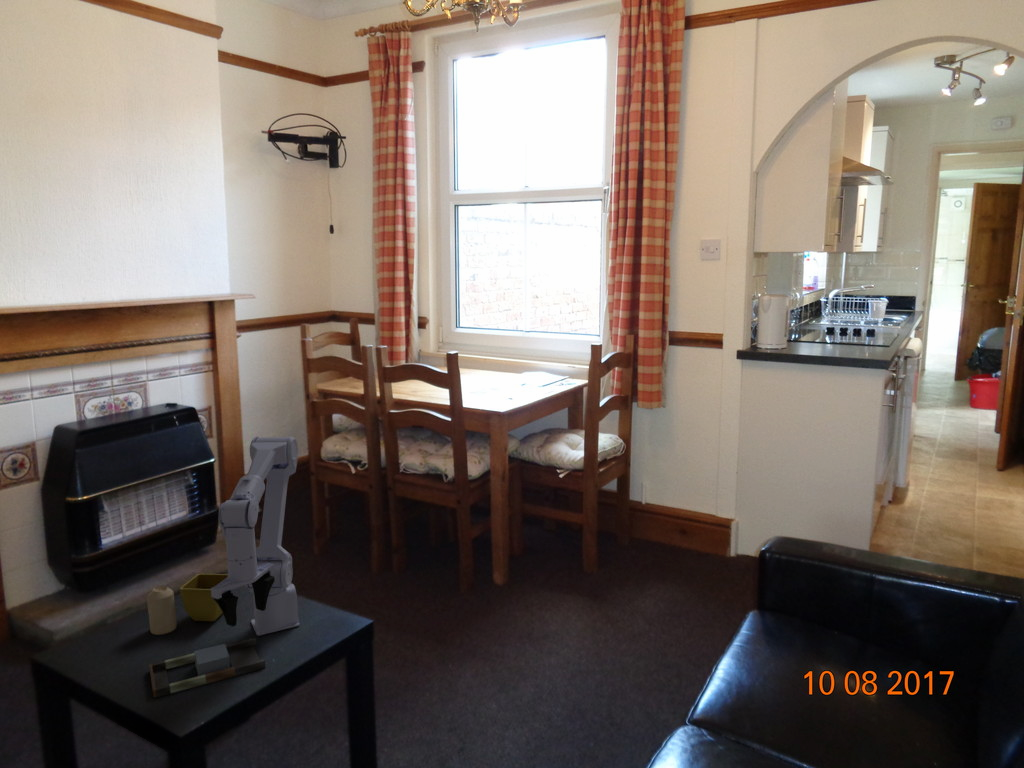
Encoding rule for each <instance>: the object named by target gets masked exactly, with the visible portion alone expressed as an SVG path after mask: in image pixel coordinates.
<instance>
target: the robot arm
mask: <svg viewBox="0 0 1024 768" xmlns="http://www.w3.org/2000/svg"><path fill="white" fill-rule="evenodd" d="M298 445H299V444H298V441H297V439H296V438H295V437H294V436H276V437H275V436H271V437H270V436H269V437H268V436H266V437H265V436H263V437H262V436H261V437H259V436H254V437H253V438H252V440H251V441H250V445H249V457H250V459H251V463H250V466H249V469H248V472H247V475H243V476H241V477H240V478H239V480H238V482H237V484H236V486H235V488H234V490H233V492H232V494H231V496H230V498H229V499H227V500H225V502H222V503H221V504H220V507H219V510H218V517H217V518H218V519H217V520H218V524H219V527H220V529H221V535H222V536H223V538H224V539H225V548H226V561H227V563H226V564H227V571H228V572H227V573H226V574H227V575H228V577H227V578H226V579H224V580H223V581H222V582H220V583H219V584H218V585H216V586H215V587H213V588H211V597H213V599H214V600H215V601H216V603H217V604H218V605H219V607H220V608H221V610H222V612H223V614H222V615H223V616H224V620H225V621H226V624H227V625H228V626H231V627H235V626H237V622H238V620H237V605H238V601H239V596H236V595H234V593H232V592H233V591H234V590H236V589H239V588H241V587H243V586H244V587H245V588H246V589H247V590H249V593H250V594H252V599H253V611H254V612H253V613H254V614H253V615H254V618H253V619H251V620H250V623H251V625H252V627H253V630H254V632H255V635H256V636H258V637H260V636H263V635H264V636H265V635H267V634H271V633H275V632H279V631H283V630H286V629H291V628H295V627H299V626H300V622H299V621H300V620H299V606H298V597H297V590H296V586H295V585H294V584H293V583H292V580H293V573H294V571H293V557H292V554H291V553H290V552H288V551H287V550H286V549H285V548H283V546H282V542H283V533H284V532H283V531H284V522H285V512H286V505H287V504H286V503H287V493H288V492H287V491H288V484H289V479H290V477H291V476H292V475H293V474H295V473H296V471H297V466H298V457H299V456H298V455H299V447H298ZM265 479H266V485H265V482H264V481H265ZM264 493H265V494H264ZM263 495H264V503H263V511H262V521H261V527H260V529H261V530H260V539H259V545H258V547H257V546H256V536H255V535H256V534H255V526H256V524H257V521H258V516H259V512H260V506H259V503H260V502H261V499H262V496H263Z"/></svg>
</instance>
